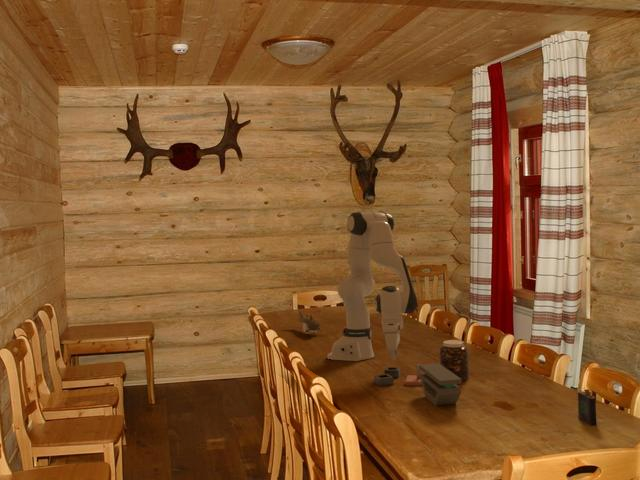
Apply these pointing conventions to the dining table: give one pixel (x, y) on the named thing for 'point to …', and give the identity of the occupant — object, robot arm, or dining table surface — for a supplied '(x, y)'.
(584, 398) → the flask
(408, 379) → the keeper
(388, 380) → the loose link
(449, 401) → the grey lidded box
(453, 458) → the dining table surface
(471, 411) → the dining table surface
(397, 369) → the link
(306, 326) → the wood carving
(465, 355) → the jar
